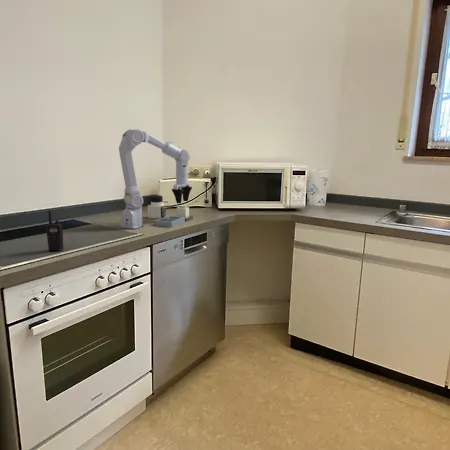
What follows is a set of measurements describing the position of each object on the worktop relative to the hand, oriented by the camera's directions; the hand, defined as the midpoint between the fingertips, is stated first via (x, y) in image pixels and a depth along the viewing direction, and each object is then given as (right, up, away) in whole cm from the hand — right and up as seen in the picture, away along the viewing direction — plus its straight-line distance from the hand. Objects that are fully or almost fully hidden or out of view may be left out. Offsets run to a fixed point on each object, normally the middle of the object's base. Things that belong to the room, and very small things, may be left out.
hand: (182, 202), depth 196 cm
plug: (0, -9, +2) cm, 9 cm away
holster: (0, -9, +2) cm, 9 cm away
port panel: (-5, -11, -8) cm, 15 cm away
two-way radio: (-41, -21, -51) cm, 68 cm away
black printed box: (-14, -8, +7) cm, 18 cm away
